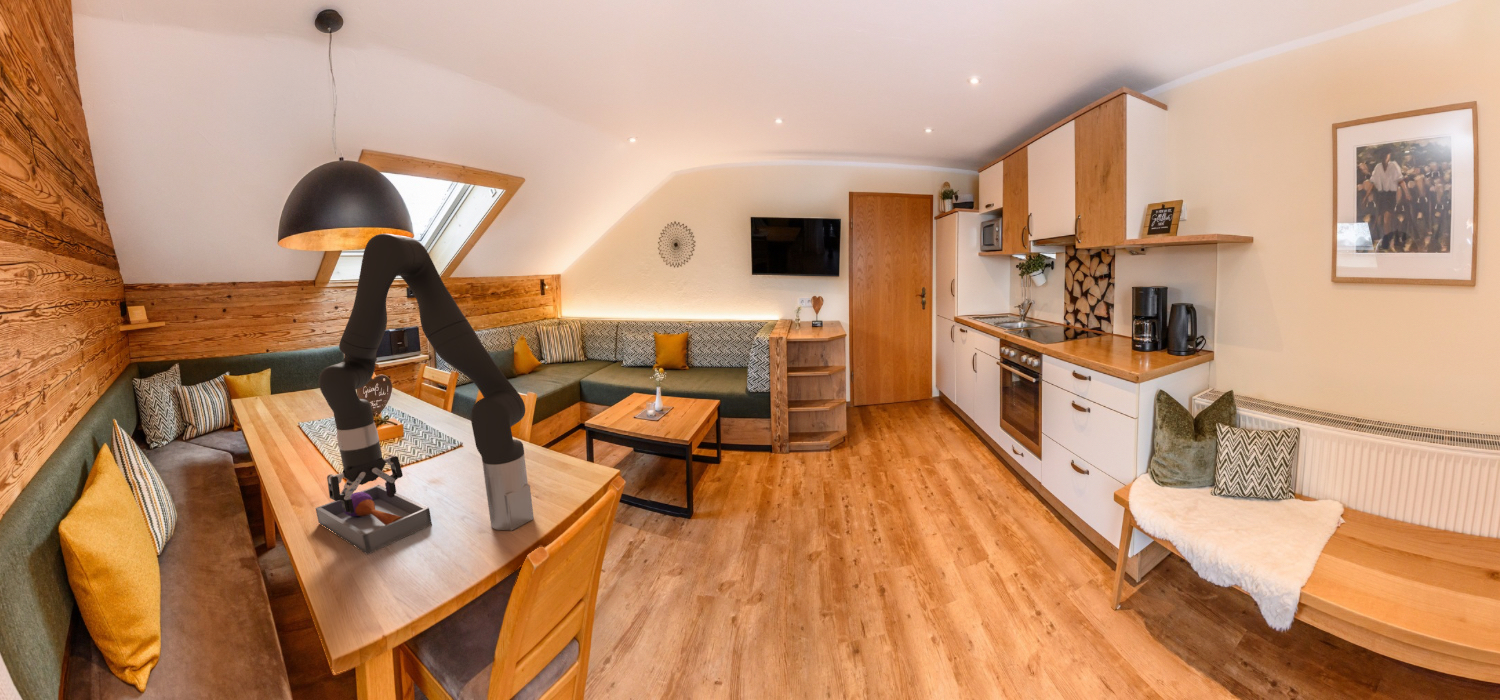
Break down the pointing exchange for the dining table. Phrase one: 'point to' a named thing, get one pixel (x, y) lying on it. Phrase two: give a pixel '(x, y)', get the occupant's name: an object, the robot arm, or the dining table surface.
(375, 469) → the robot arm
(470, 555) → the dining table surface
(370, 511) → the purple and brown maraca
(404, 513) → the box
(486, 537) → the dining table surface
